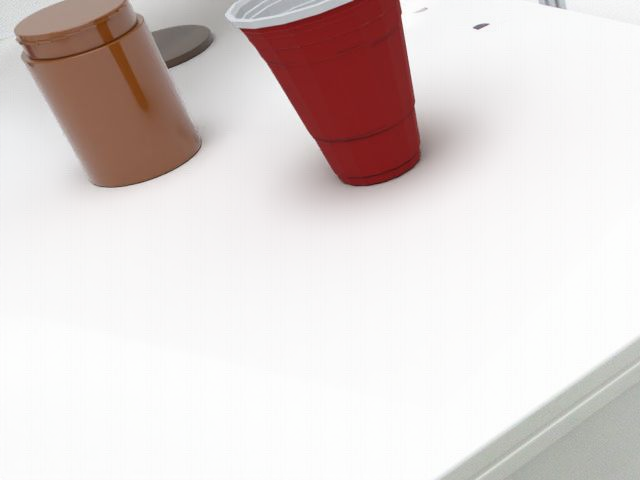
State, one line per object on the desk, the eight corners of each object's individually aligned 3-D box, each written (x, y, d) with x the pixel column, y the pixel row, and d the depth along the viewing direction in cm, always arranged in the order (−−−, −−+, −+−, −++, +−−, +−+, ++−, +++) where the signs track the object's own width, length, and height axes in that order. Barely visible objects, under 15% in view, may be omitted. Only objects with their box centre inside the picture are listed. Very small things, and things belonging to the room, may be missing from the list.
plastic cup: (366, 122, 77) (302, -55, 69) (487, 132, 73) (434, -57, 65) (264, 197, 71) (181, 12, 63) (389, 214, 66) (316, 15, 58)
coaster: (82, 83, 95) (79, 76, 94) (135, 38, 102) (132, 32, 102) (184, 70, 93) (180, 63, 92) (230, 25, 100) (227, 18, 100)
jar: (67, 192, 77) (-19, 45, 70) (122, 138, 83) (48, -3, 76) (171, 181, 76) (94, 29, 69) (219, 126, 82) (154, -19, 75)
